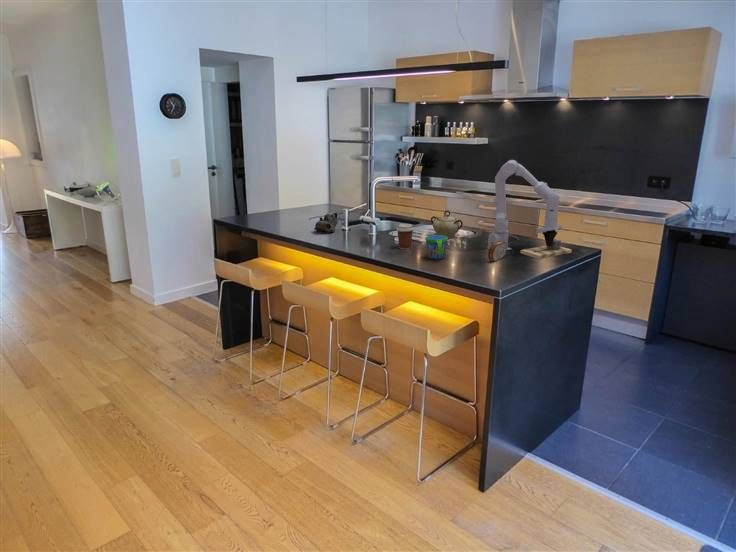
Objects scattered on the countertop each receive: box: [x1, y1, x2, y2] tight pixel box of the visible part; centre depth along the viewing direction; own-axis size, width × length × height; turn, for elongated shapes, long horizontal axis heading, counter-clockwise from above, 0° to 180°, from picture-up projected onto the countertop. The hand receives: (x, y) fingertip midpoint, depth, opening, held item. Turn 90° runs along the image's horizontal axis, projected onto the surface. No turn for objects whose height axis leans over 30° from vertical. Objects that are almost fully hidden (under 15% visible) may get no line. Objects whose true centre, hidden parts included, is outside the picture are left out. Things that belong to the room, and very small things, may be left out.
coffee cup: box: [395, 223, 415, 250], centre depth 262 cm, size 9×9×12 cm
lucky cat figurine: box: [313, 212, 339, 234], centre depth 303 cm, size 15×12×14 cm
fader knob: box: [546, 238, 562, 250], centre depth 250 cm, size 4×5×4 cm
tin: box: [487, 241, 507, 262], centre depth 239 cm, size 15×3×8 cm, turn 141°
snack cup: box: [425, 234, 449, 260], centre depth 243 cm, size 16×10×10 cm
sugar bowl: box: [430, 210, 464, 239], centre depth 284 cm, size 20×15×15 cm
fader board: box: [519, 245, 573, 260], centre depth 249 cm, size 22×12×2 cm, turn 117°
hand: (548, 245), depth 249 cm, fingers closed
